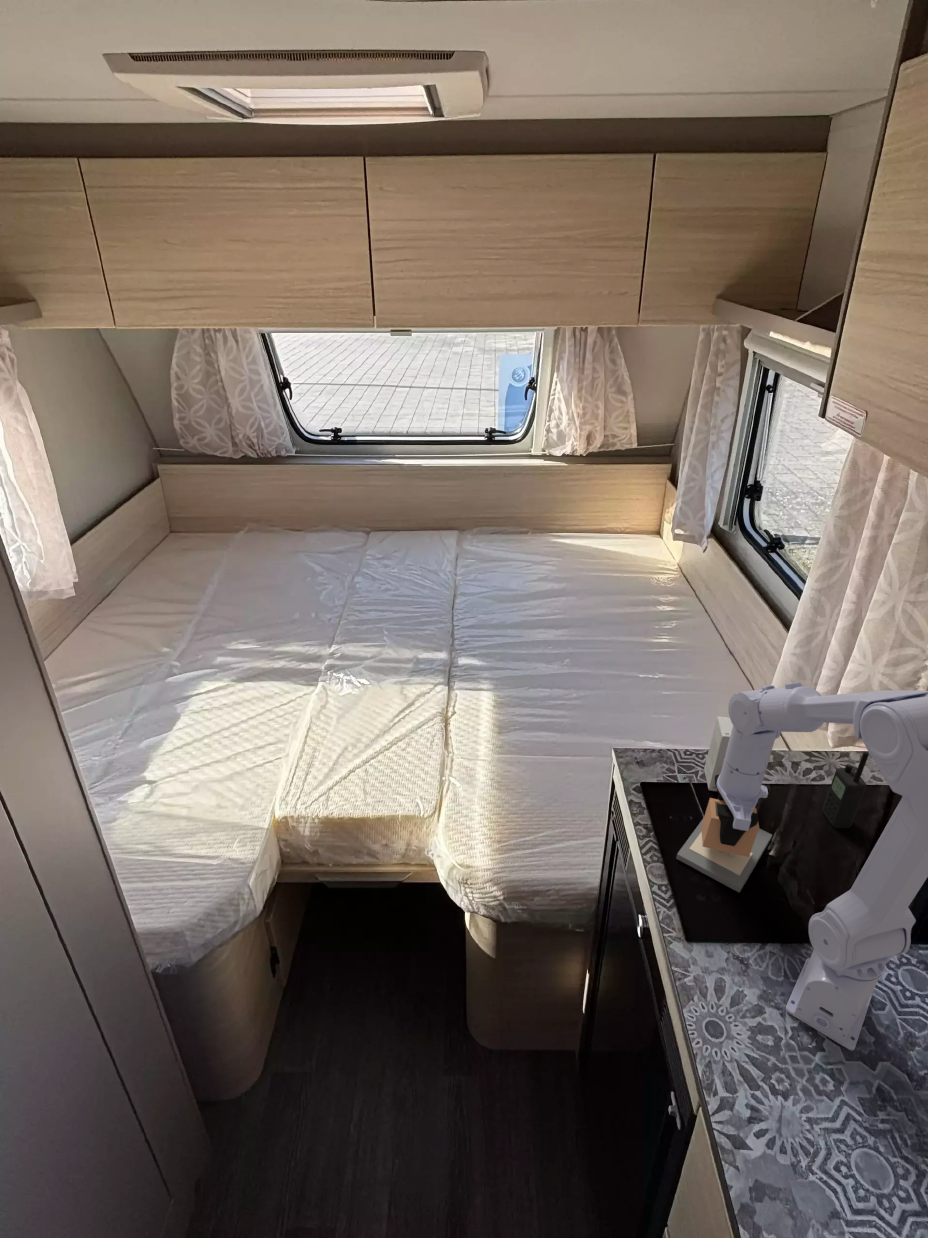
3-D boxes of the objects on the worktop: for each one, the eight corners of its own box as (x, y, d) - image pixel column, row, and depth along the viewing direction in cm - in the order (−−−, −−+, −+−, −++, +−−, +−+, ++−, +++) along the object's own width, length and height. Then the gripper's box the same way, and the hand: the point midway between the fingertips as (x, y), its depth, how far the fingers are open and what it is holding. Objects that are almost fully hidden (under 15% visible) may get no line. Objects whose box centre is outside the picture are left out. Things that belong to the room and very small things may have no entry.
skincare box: (733, 794, 123) (748, 739, 117) (708, 791, 123) (721, 736, 118) (727, 771, 128) (741, 718, 122) (703, 768, 128) (716, 715, 123)
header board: (739, 892, 104) (745, 873, 102) (676, 858, 109) (680, 839, 107) (770, 839, 113) (776, 820, 111) (711, 810, 119) (716, 791, 117)
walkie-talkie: (819, 809, 120) (844, 739, 113) (838, 809, 120) (864, 739, 113) (834, 830, 116) (861, 758, 109) (854, 829, 116) (882, 758, 109)
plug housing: (748, 857, 106) (759, 827, 103) (702, 846, 107) (711, 817, 104) (746, 836, 110) (756, 807, 107) (701, 826, 111) (710, 797, 108)
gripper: (782, 801, 94) (759, 873, 100) (768, 737, 106) (749, 804, 113) (727, 791, 96) (707, 862, 102) (720, 728, 108) (703, 796, 114)
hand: (726, 831), depth 108 cm, fingers closed on plug housing, 4 cm apart
